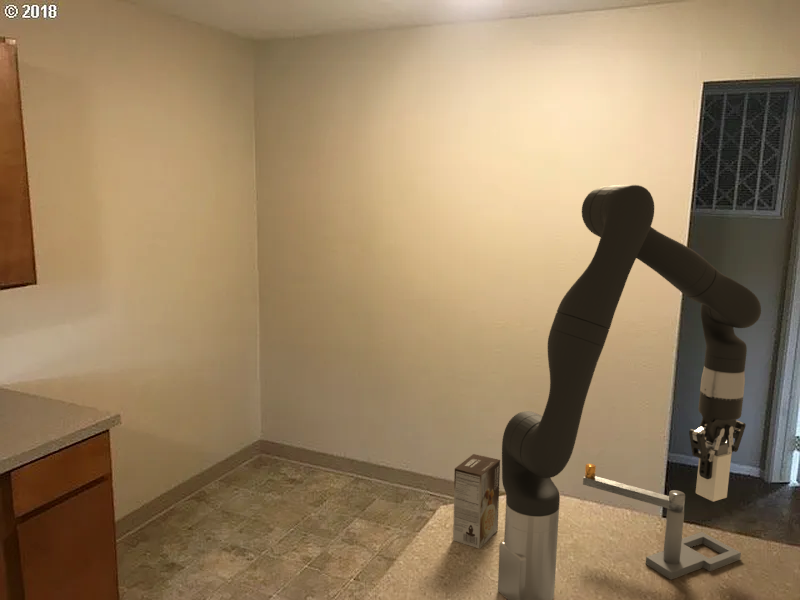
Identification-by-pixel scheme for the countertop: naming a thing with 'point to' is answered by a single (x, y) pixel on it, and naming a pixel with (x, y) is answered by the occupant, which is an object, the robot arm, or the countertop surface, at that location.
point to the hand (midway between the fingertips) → (713, 474)
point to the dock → (688, 551)
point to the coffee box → (476, 500)
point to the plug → (716, 475)
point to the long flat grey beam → (634, 491)
